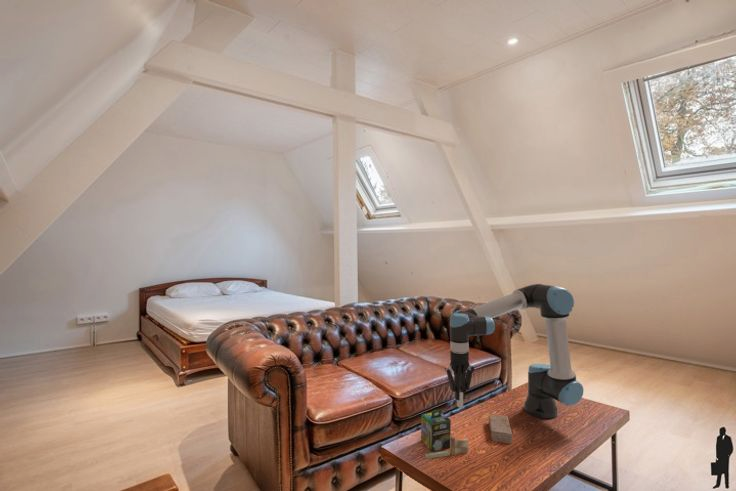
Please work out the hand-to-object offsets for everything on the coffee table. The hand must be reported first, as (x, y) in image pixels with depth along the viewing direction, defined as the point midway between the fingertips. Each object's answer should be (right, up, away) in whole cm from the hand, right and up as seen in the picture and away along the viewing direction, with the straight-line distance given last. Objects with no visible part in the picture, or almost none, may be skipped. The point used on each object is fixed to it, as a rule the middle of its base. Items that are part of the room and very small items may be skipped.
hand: (460, 406), depth 155 cm
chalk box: (-11, -15, -3) cm, 18 cm away
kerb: (-12, -14, -11) cm, 22 cm away
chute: (-4, -14, -1) cm, 15 cm away
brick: (+20, -15, +7) cm, 26 cm away
